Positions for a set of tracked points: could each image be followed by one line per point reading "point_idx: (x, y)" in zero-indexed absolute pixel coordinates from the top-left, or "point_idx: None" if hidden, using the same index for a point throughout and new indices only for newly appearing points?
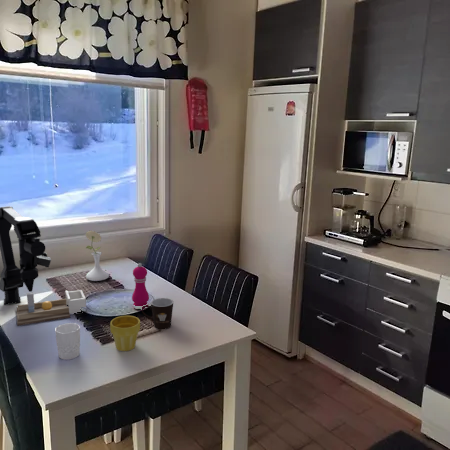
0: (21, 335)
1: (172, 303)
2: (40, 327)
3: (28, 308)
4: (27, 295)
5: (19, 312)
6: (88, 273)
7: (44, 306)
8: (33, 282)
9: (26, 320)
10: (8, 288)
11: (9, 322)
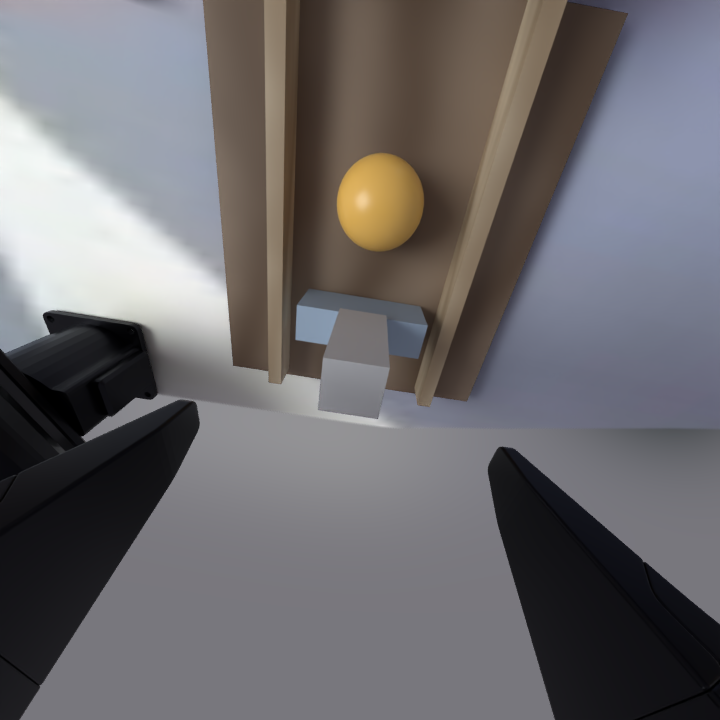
0: (589, 399)
1: None
2: (580, 302)
3: (290, 317)
4: (378, 411)
5: (321, 367)
6: None
7: (410, 236)
8: (710, 617)
9: (462, 359)
10: (54, 435)
11: (397, 412)
